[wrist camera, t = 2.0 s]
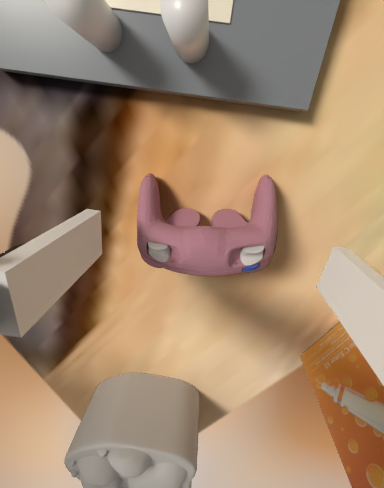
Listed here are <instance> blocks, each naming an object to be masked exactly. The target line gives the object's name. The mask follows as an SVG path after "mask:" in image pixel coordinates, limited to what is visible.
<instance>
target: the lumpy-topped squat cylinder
mask: <svg viewBox="0 0 384 488" xmlns="http://www.w3.org/2000/svg"><path fill="white" fill-rule="evenodd" d="M199 400H200V394H199V391H198V390H197V389H196V388H195V387H194V386H193V385H191V384H189V383H187V382H185V381H182V380H179V379H175V378H170V377H165V376H160V375H154V374H146V373H125V374H121V375H117V376H113V377H110V378H108V379H106V380H104V381H103V382H101V383H100V384H99V385H98V386H97V388H96V390H95V392H94V394H93V396H92V399H91V401H90V403H89V405H88V407H87V409H86V412H85V414H84V416H83V418H82V420H81V423H80V425H79V427H78V429H77V432H76V434H75V436H74V438H73V441H72V443H71V445H70V447H69V450H68V452H67V454H66V457H65V465H66V468H67V469H68V470H69V471H70V472H71V474H72V476H73V477H77V478H78V479H79V480H81V483H82V486H83V488H191V480H192V478H193V477H194V476H195V473H196V470H197V451H198V424H199Z"/></svg>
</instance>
